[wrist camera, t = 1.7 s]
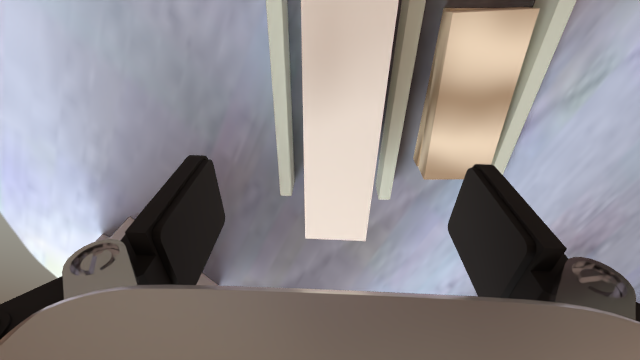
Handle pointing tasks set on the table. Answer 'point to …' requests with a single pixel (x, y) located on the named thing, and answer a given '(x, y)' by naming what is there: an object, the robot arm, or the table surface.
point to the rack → (543, 42)
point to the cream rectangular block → (343, 110)
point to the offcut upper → (472, 87)
